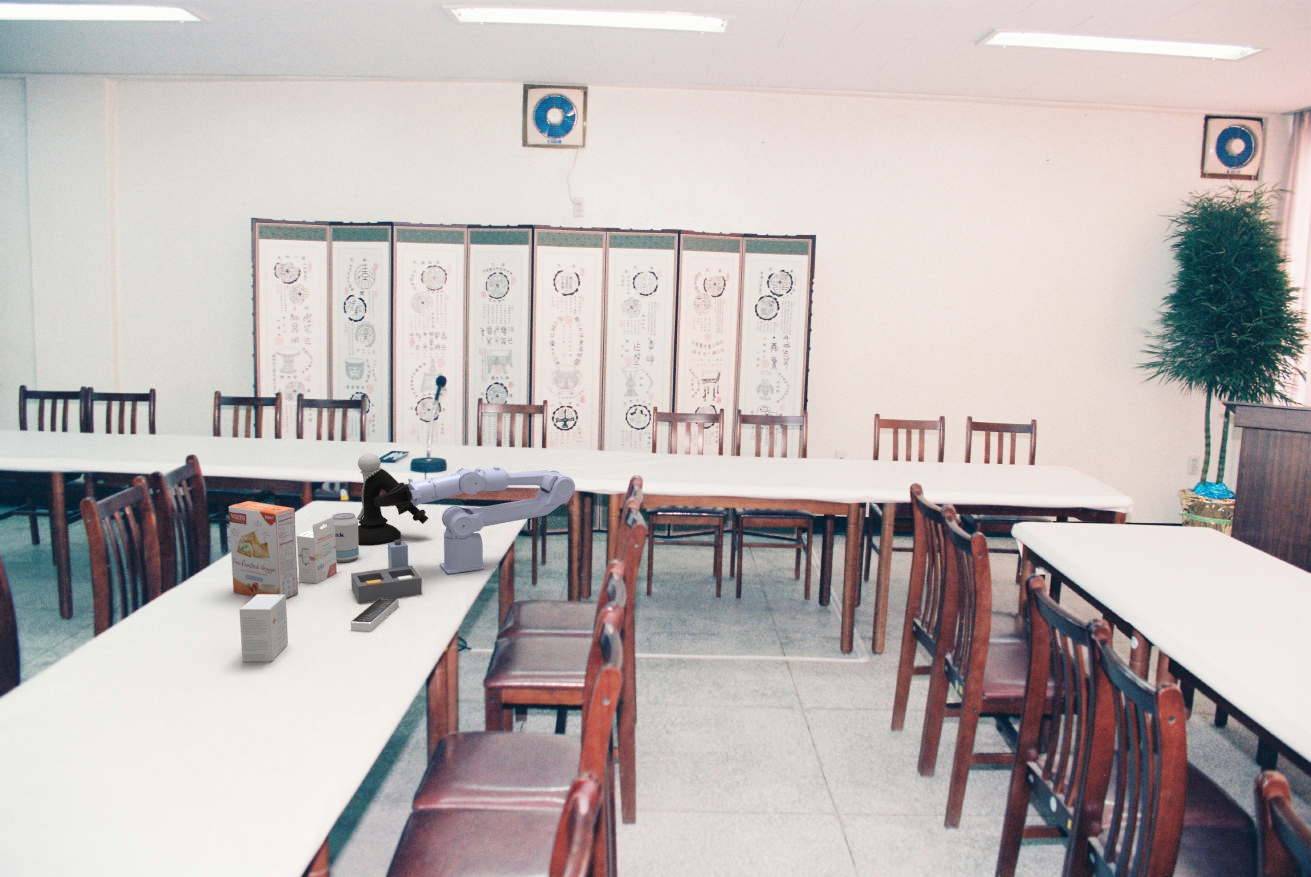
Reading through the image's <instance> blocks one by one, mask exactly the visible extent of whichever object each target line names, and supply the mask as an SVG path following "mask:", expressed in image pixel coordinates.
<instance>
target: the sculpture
mask: <svg viewBox="0 0 1311 877" xmlns="http://www.w3.org/2000/svg"><path fill="white" fill-rule="evenodd" d="M357 461H358V462H357V466H358V469H360V472H359V473H360V474H362V479H363V484H362V488H361V489H362V490H361V506H362V508H361V510H360V513H359V514H358V516H357V517H356V519H357V520H358V543H359V546H366V547H367V546H380V545H381V546H383V545H386V544H387V545H388V543H393V542H394V540H401V538H402V532H401V530H399V529H398V528H397V527H395V526H394V525H391V524H390V523H388V521H389V520H388V519H387V518H386V517H384V516H383V513H382V509H381V508H382V507H377V506H375V501H374V498H376V497H378V496H380V495H381V491H382V490H383V491H384V492H385V493H388V492H390V491H392V490H393V489H395V488H396V487H397V486H399V485H400V486H401V487H403V486H404V485H405V482H400V483H399V482H398V481H397V480H396V478H394V477H393V476H392V475H391V474H390V473H389V472H388V471H387V470H385V469H383V467H381V459H380V457H379V456H378V455H377V454H375V453H372V452H371V453H369V452H368V453H364V454H363V455H361V456H360V457H359V458H358V460H357ZM411 504H412V502H411ZM395 507H396V509H397V511H398V512H397V513H398V516H400V515H402V514H404V513H406V512H408V513H410V514H411V515H412V520H413V521H414V522H417V521H419V522H420V524H421V525H423V524H425V523H426V522H427V521H428V520H429V517H428V516H427V515H426V510H425V509H419V508H418V506H414V505H413V504H412V507H407V506H406V507H402V506H395Z"/></svg>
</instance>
